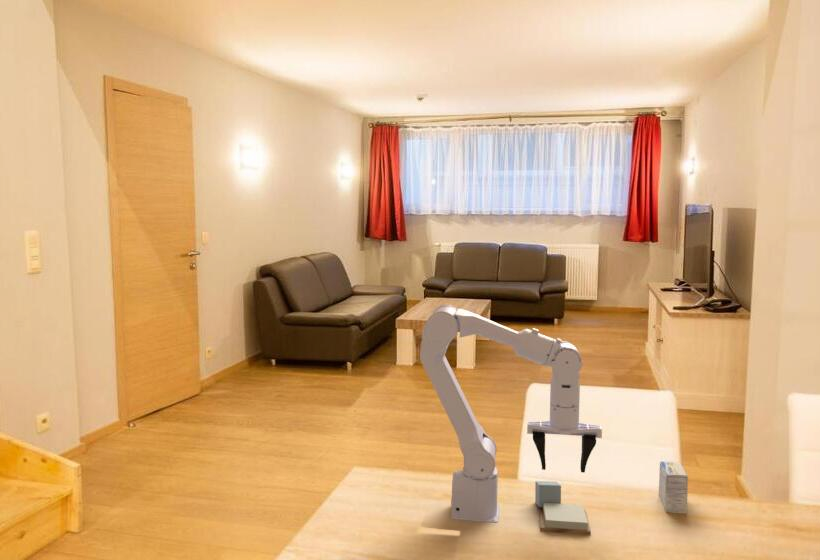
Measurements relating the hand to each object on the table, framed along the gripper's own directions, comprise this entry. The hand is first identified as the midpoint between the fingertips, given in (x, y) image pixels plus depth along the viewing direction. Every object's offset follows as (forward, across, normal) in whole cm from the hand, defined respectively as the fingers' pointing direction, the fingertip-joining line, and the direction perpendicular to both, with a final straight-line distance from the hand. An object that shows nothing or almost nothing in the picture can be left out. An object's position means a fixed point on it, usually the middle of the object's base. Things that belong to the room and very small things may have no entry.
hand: (563, 469), depth 134 cm
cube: (+10, -3, +4) cm, 11 cm away
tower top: (+10, 0, -2) cm, 10 cm away
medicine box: (+11, +23, +10) cm, 27 cm away
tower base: (+11, 0, -1) cm, 11 cm away
